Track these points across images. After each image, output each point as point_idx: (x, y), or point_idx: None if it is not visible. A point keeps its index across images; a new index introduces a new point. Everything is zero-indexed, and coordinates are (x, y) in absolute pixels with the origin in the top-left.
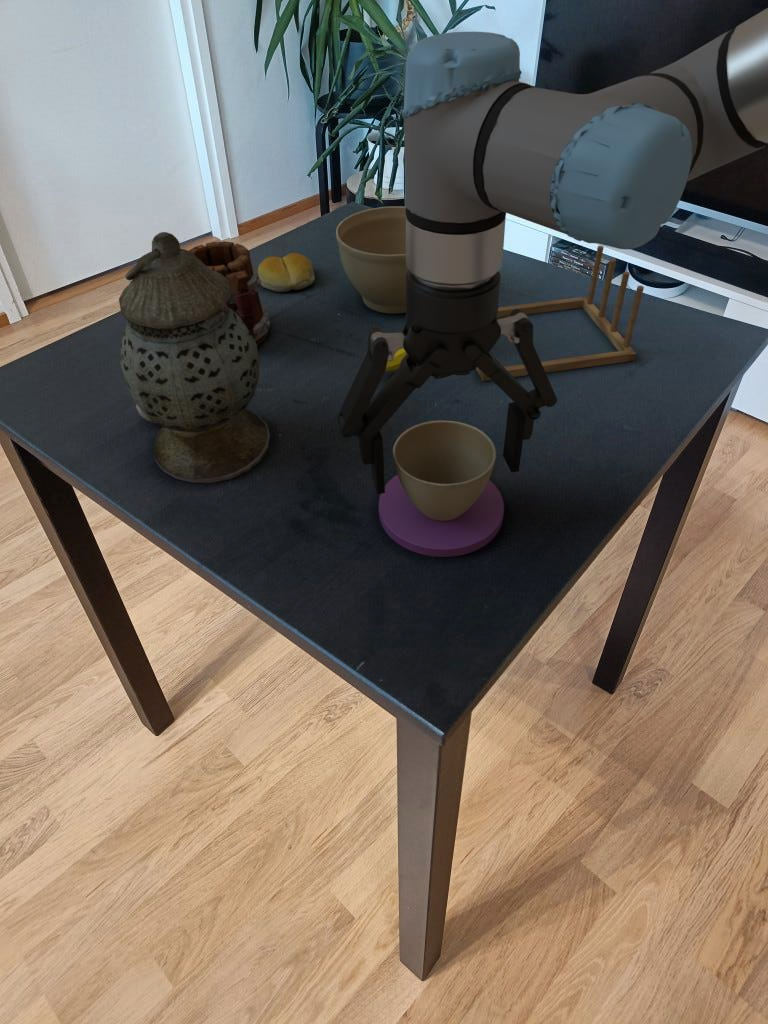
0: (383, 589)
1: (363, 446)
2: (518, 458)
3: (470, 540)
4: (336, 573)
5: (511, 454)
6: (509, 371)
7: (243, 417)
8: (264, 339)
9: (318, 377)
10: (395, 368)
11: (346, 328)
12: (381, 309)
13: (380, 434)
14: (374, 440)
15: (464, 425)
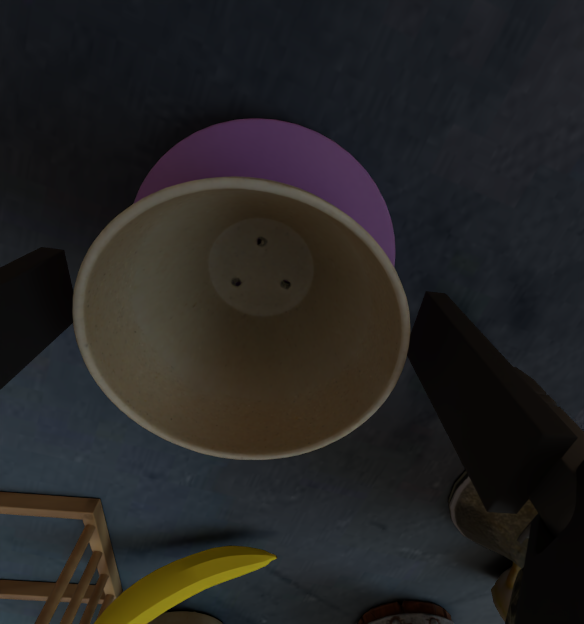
0: (477, 79)
1: (572, 427)
2: (11, 265)
3: (239, 134)
4: (535, 170)
5: (32, 288)
6: (48, 507)
7: (508, 532)
8: (370, 610)
9: (334, 552)
10: (228, 548)
11: (263, 604)
12: (209, 622)
13: (526, 461)
14: (571, 440)
15: (151, 425)
